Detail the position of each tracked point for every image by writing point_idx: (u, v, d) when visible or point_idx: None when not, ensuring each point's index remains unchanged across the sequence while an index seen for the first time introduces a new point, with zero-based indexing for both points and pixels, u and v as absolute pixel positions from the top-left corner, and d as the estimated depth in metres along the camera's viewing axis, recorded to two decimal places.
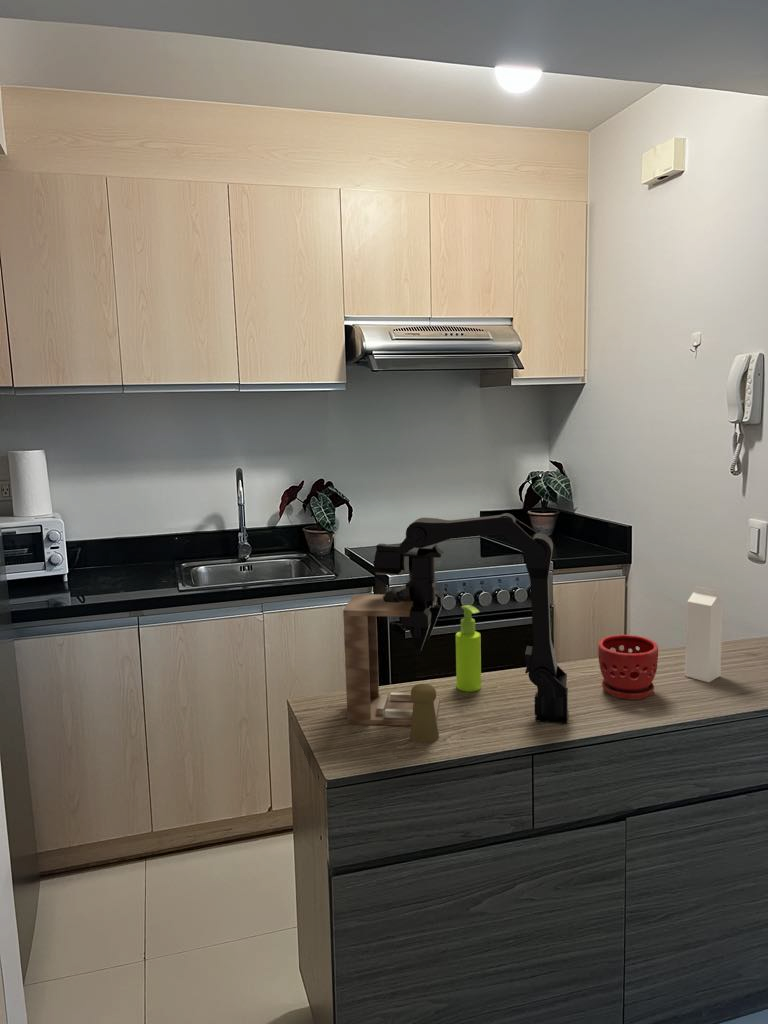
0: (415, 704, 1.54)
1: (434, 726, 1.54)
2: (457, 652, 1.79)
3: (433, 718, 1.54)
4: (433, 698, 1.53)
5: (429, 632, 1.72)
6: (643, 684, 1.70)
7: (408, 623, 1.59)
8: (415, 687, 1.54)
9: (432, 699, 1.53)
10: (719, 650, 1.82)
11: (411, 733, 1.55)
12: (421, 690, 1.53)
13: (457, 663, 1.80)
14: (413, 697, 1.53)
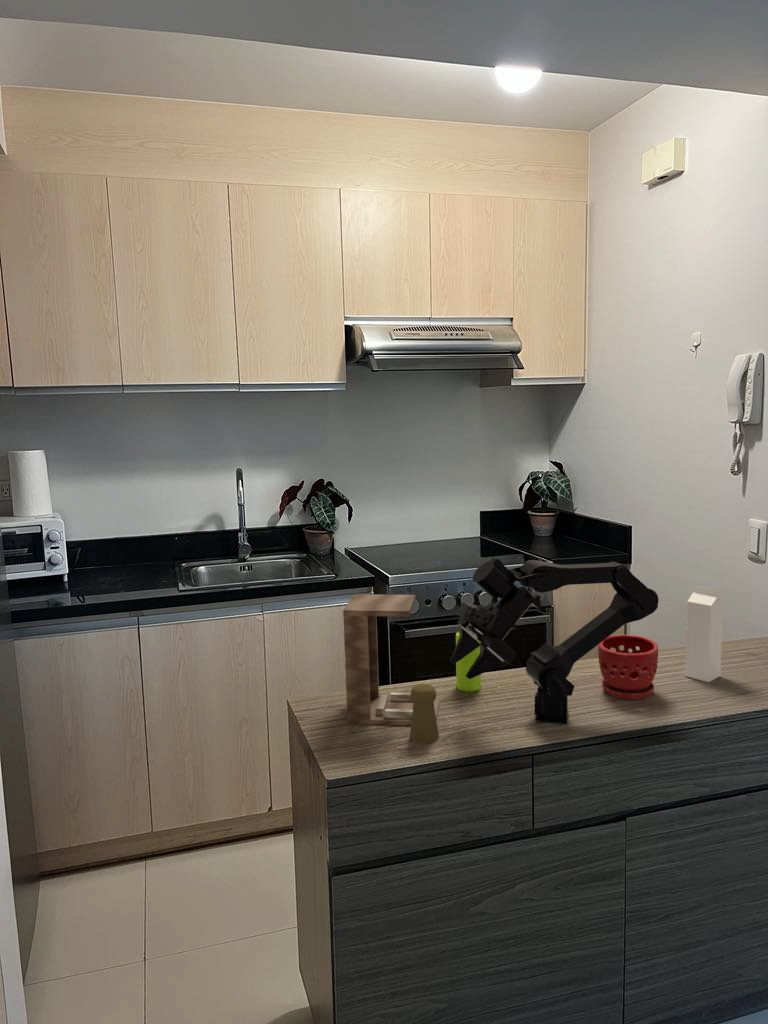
0: (415, 704, 1.54)
1: (434, 726, 1.54)
2: None
3: (433, 718, 1.54)
4: (433, 698, 1.53)
5: (458, 659, 1.61)
6: (643, 684, 1.70)
7: (497, 653, 1.47)
8: (415, 687, 1.54)
9: (432, 699, 1.53)
10: (719, 650, 1.82)
11: (411, 733, 1.55)
12: (421, 690, 1.53)
13: (457, 663, 1.80)
14: (413, 697, 1.53)
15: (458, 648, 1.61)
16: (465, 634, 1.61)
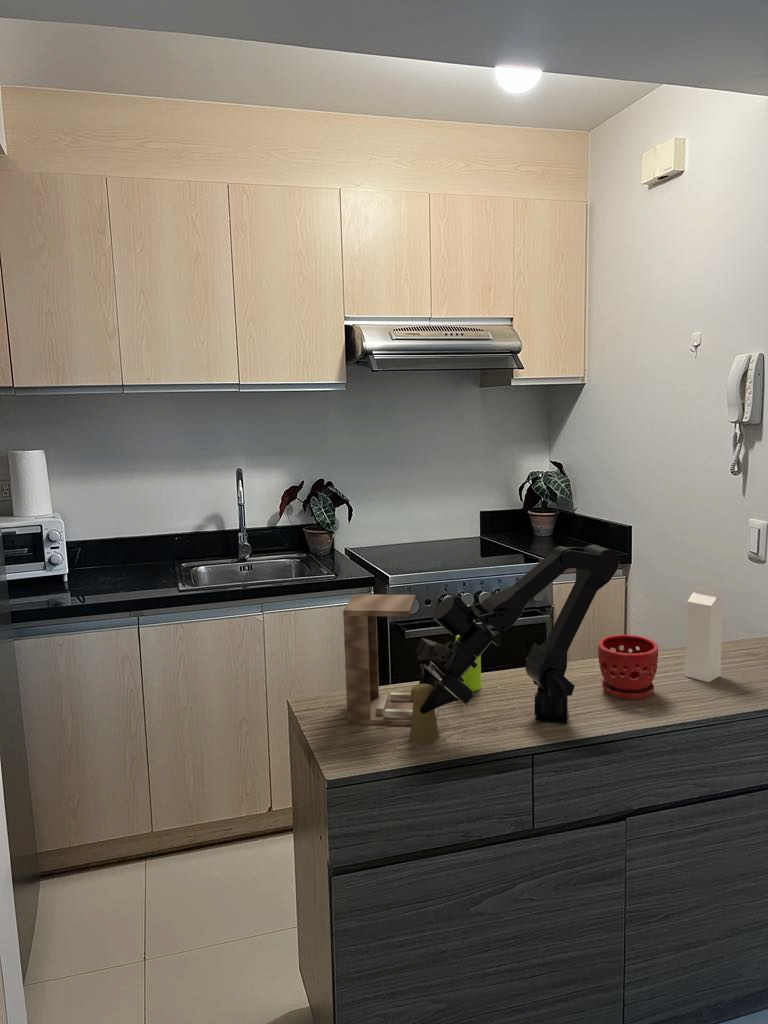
0: (415, 704, 1.54)
1: (434, 726, 1.54)
2: None
3: (433, 718, 1.54)
4: None
5: None
6: (643, 684, 1.70)
7: (454, 692, 1.46)
8: (415, 687, 1.54)
9: None
10: (719, 650, 1.82)
11: (411, 733, 1.55)
12: (421, 690, 1.53)
13: None
14: (413, 697, 1.53)
15: None
16: (427, 673, 1.58)
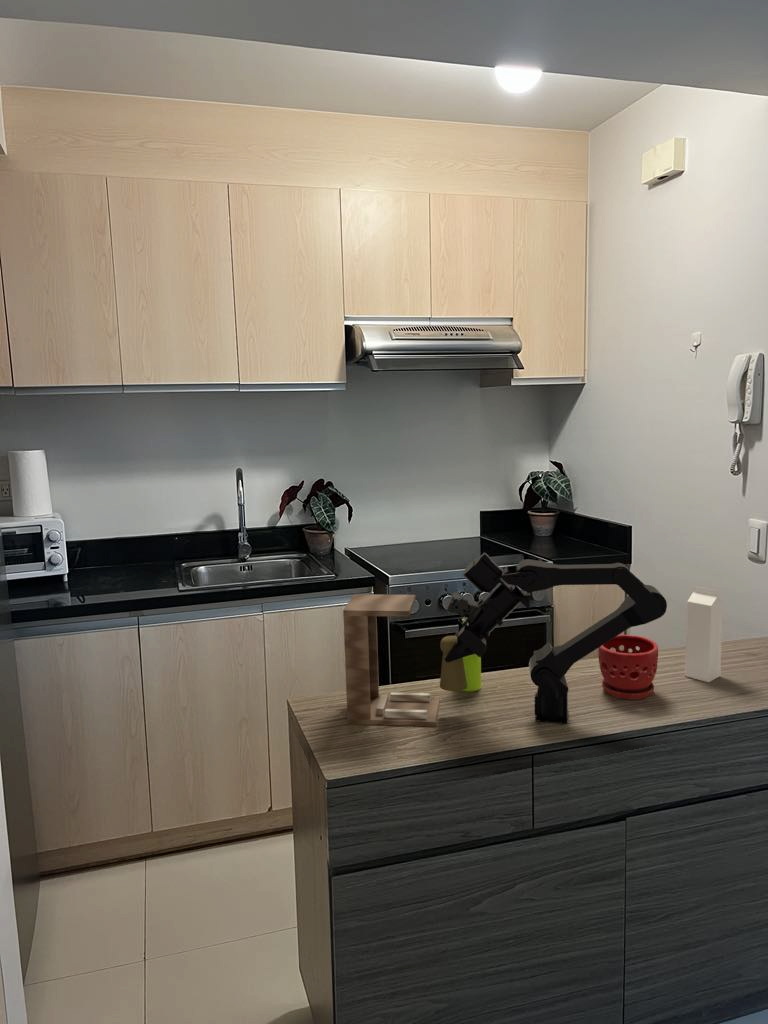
0: (443, 653, 1.64)
1: (459, 676, 1.62)
2: None
3: (459, 668, 1.62)
4: None
5: None
6: (643, 684, 1.70)
7: (466, 643, 1.54)
8: (444, 637, 1.64)
9: None
10: (719, 650, 1.82)
11: (440, 680, 1.65)
12: (447, 640, 1.62)
13: None
14: (440, 646, 1.63)
15: None
16: (462, 627, 1.66)
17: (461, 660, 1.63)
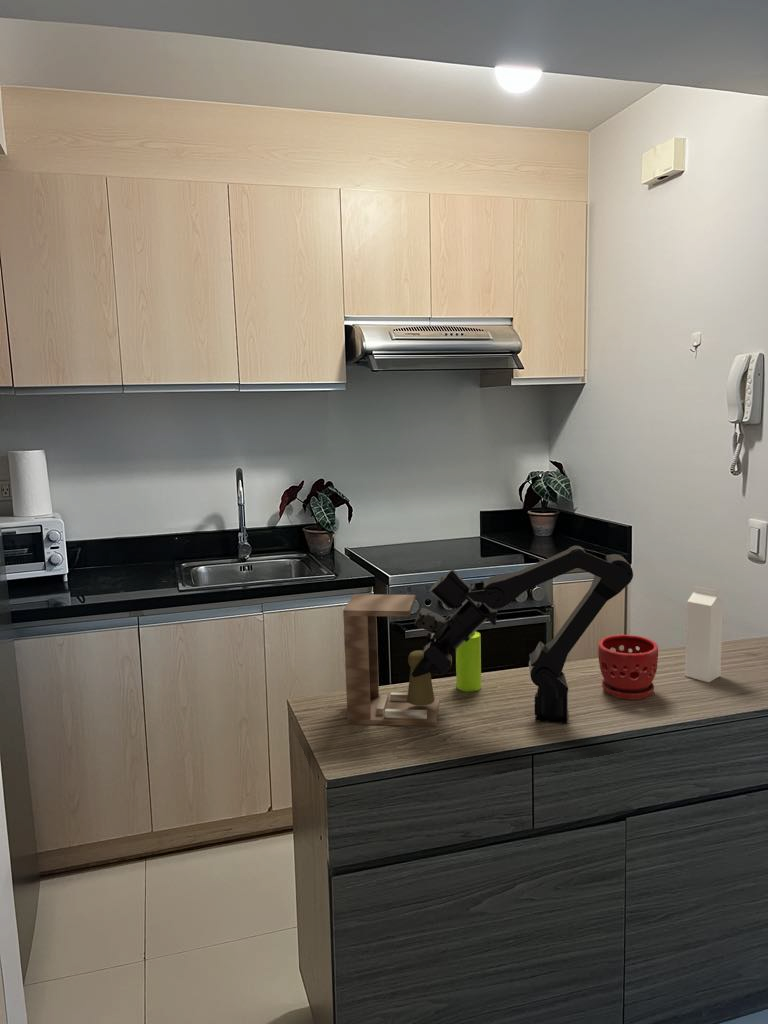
0: None
1: (426, 691, 1.64)
2: (457, 652, 1.79)
3: (426, 683, 1.64)
4: None
5: None
6: (643, 684, 1.70)
7: (431, 659, 1.55)
8: (412, 652, 1.66)
9: None
10: (719, 650, 1.82)
11: None
12: (414, 655, 1.64)
13: (457, 663, 1.80)
14: (408, 661, 1.65)
15: None
16: (430, 642, 1.68)
17: (428, 675, 1.65)
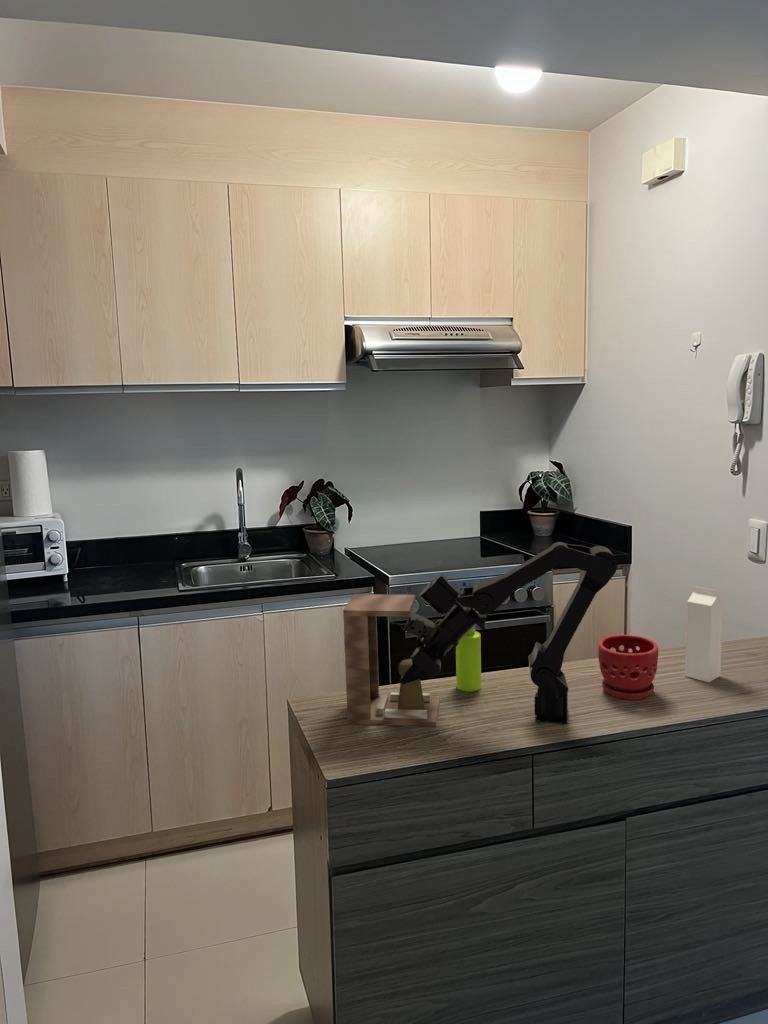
0: (401, 676, 1.66)
1: (416, 699, 1.65)
2: (457, 652, 1.79)
3: (416, 692, 1.65)
4: None
5: None
6: (643, 684, 1.70)
7: (420, 664, 1.56)
8: (403, 661, 1.66)
9: None
10: (719, 650, 1.82)
11: (398, 703, 1.68)
12: (405, 664, 1.65)
13: (457, 663, 1.80)
14: (398, 670, 1.66)
15: (412, 657, 1.70)
16: (420, 645, 1.70)
17: (418, 684, 1.65)
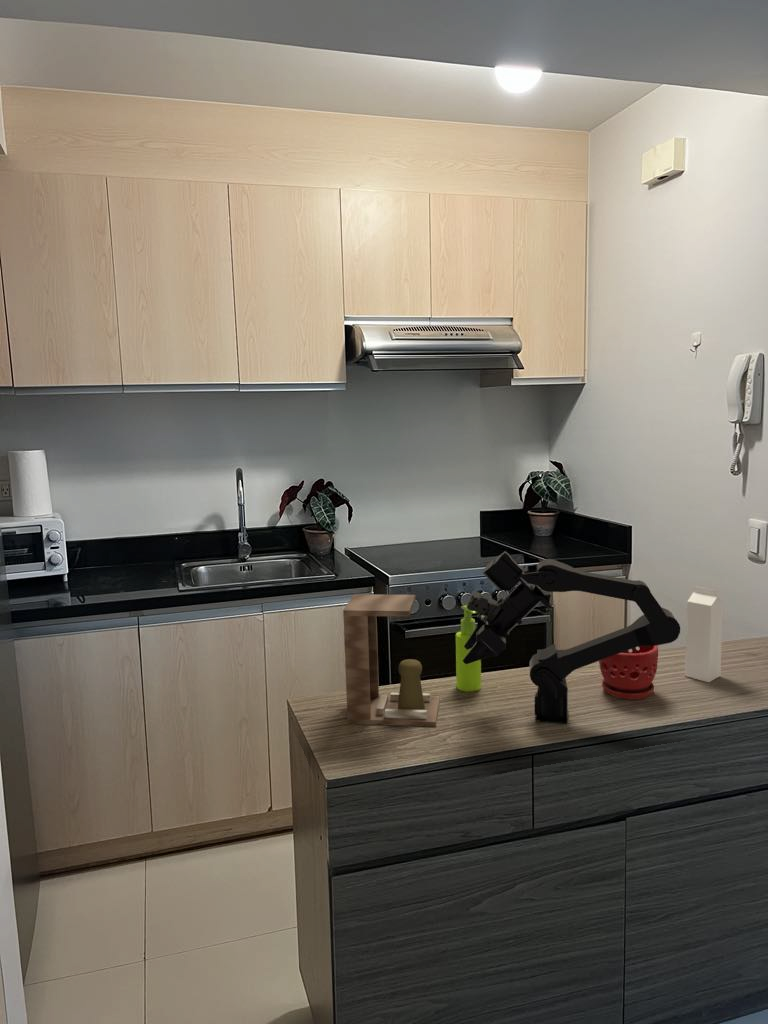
0: (401, 676, 1.66)
1: (416, 699, 1.65)
2: (457, 652, 1.79)
3: (416, 692, 1.65)
4: (415, 673, 1.64)
5: (471, 646, 1.68)
6: (643, 684, 1.70)
7: (486, 642, 1.53)
8: (403, 661, 1.66)
9: (414, 674, 1.64)
10: (719, 650, 1.82)
11: (398, 703, 1.68)
12: (405, 664, 1.65)
13: (457, 663, 1.80)
14: (398, 670, 1.66)
15: (472, 635, 1.68)
16: (481, 623, 1.68)
17: (418, 684, 1.65)
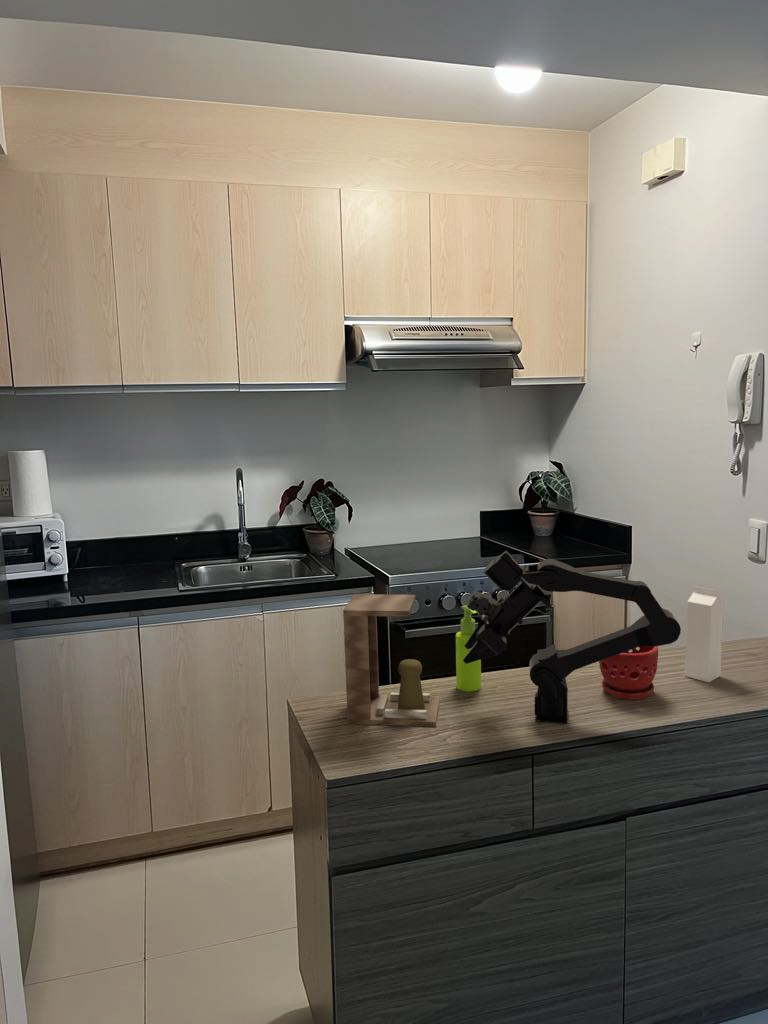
0: (401, 676, 1.66)
1: (416, 699, 1.65)
2: (457, 652, 1.79)
3: (416, 692, 1.65)
4: (415, 673, 1.64)
5: (472, 645, 1.68)
6: (643, 684, 1.70)
7: (486, 642, 1.54)
8: (403, 661, 1.66)
9: (414, 674, 1.64)
10: (719, 650, 1.82)
11: (398, 703, 1.68)
12: (405, 664, 1.65)
13: (457, 663, 1.80)
14: (398, 670, 1.66)
15: (473, 635, 1.68)
16: (481, 623, 1.68)
17: (418, 684, 1.65)
